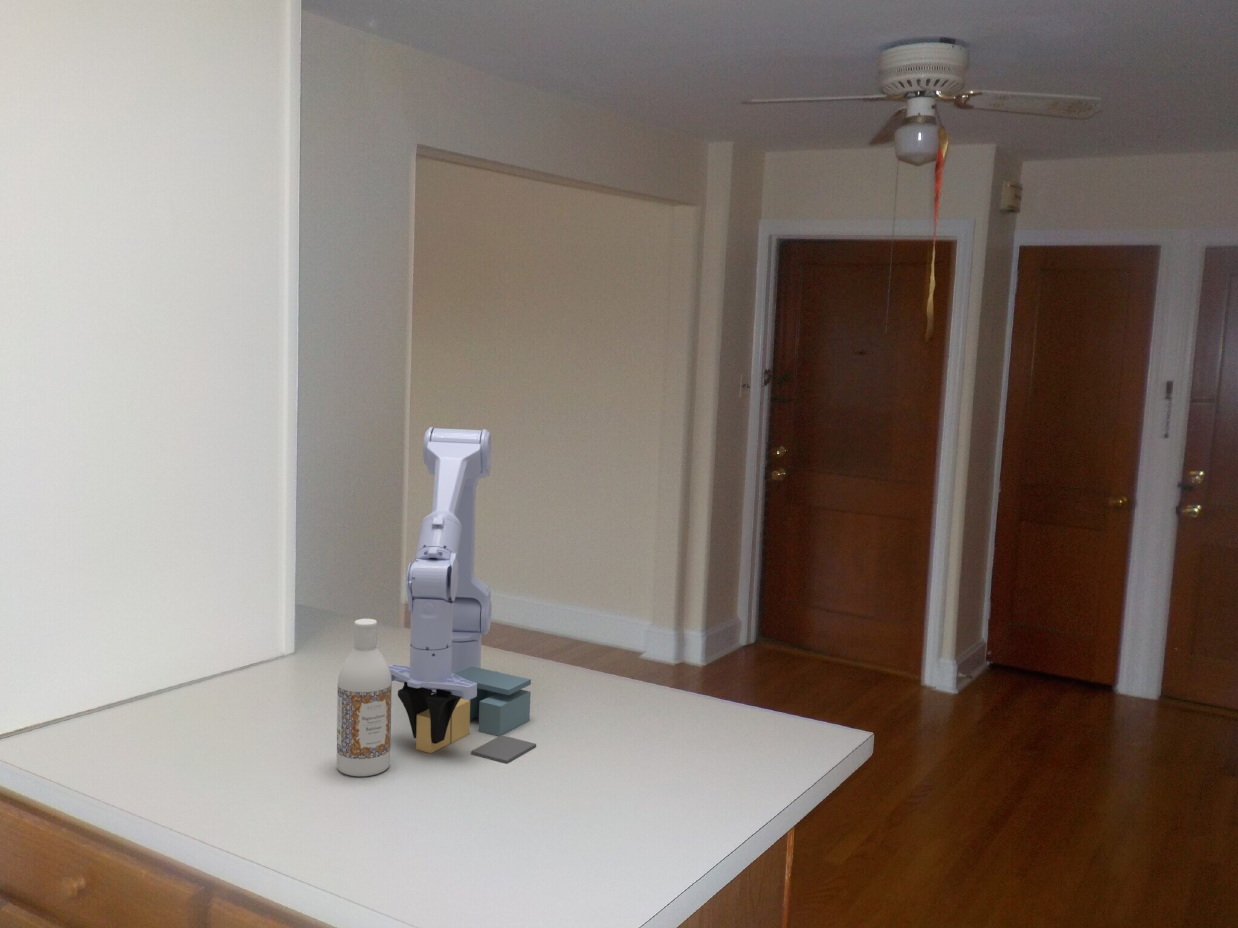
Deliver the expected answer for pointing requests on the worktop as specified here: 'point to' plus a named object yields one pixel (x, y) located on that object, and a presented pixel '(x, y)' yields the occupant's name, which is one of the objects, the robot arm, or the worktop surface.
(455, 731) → the tan grooved block
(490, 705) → the teal block stack
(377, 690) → the bath foam
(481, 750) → the pad
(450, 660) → the robot arm
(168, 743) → the worktop surface
